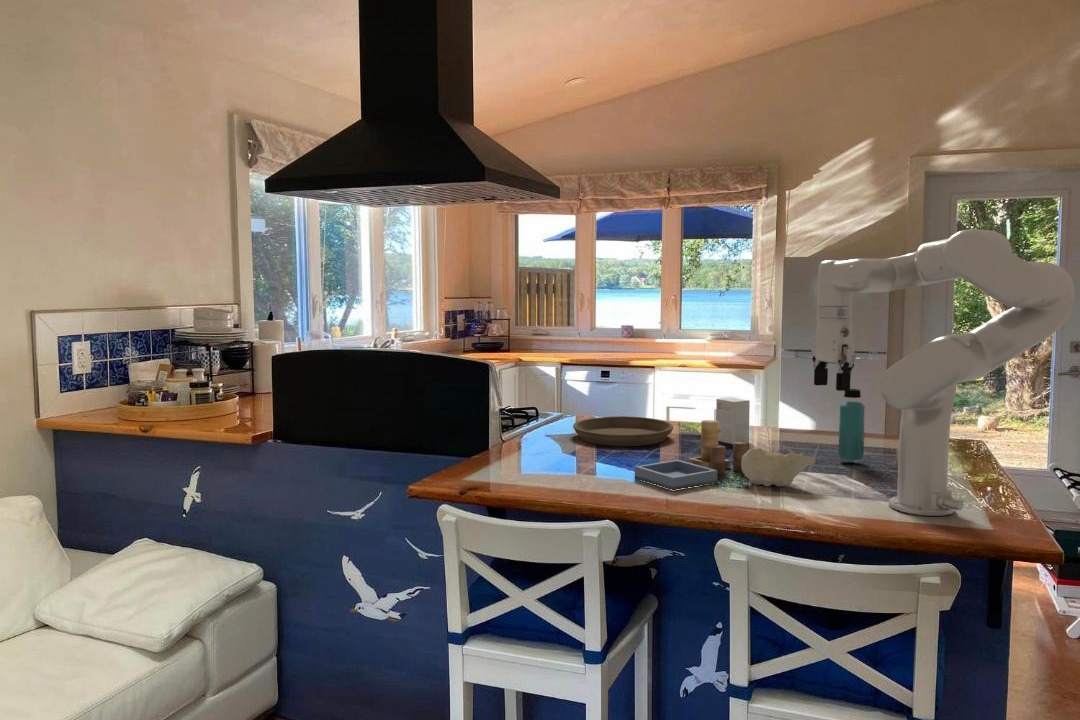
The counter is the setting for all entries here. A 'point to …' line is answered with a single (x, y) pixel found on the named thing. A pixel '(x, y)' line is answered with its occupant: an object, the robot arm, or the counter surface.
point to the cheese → (773, 466)
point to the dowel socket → (705, 464)
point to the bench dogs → (719, 457)
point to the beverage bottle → (851, 427)
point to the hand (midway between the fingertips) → (831, 387)
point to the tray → (676, 474)
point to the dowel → (708, 438)
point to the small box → (733, 420)
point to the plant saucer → (623, 430)
